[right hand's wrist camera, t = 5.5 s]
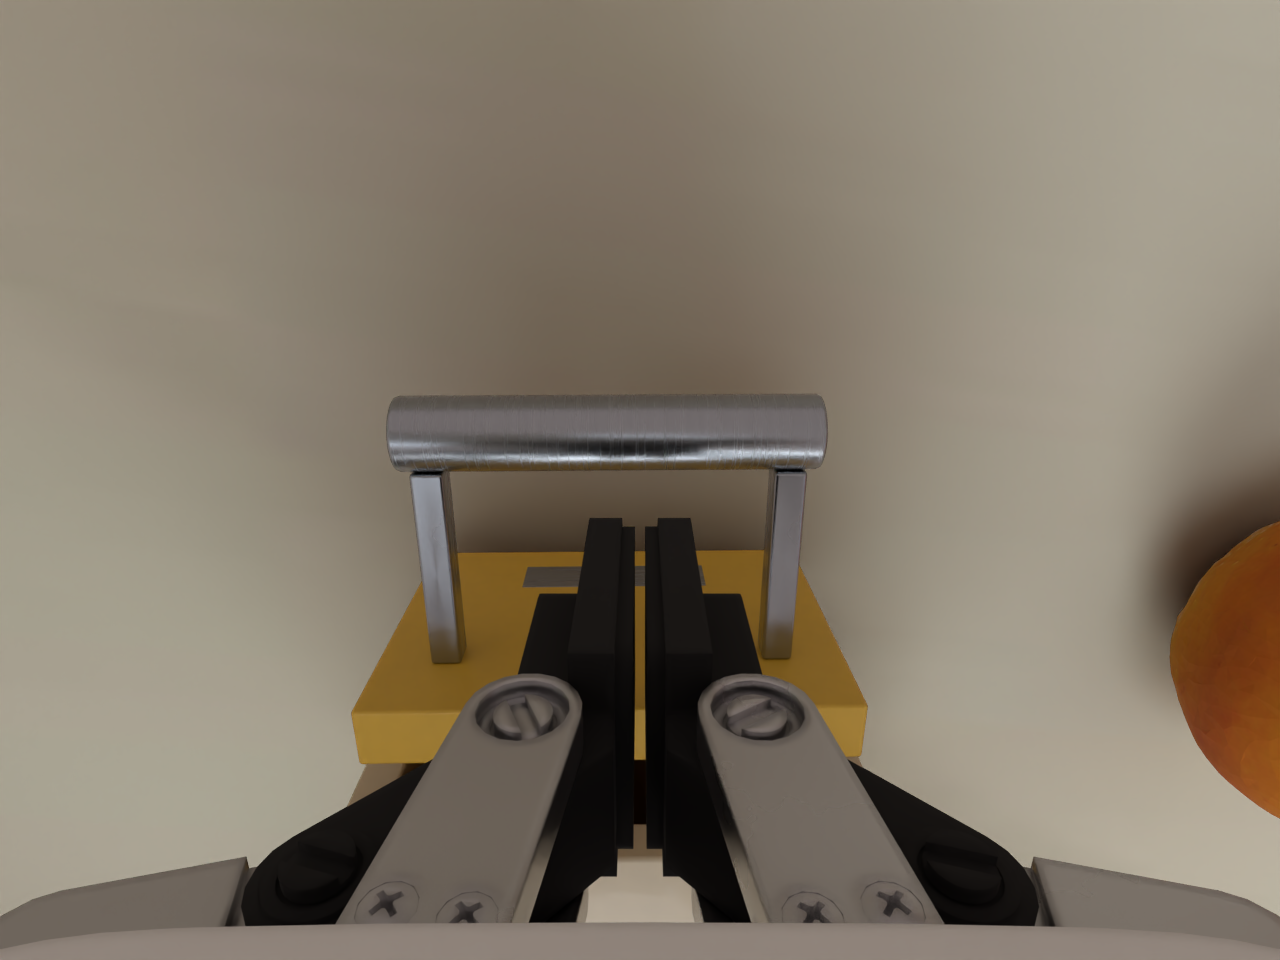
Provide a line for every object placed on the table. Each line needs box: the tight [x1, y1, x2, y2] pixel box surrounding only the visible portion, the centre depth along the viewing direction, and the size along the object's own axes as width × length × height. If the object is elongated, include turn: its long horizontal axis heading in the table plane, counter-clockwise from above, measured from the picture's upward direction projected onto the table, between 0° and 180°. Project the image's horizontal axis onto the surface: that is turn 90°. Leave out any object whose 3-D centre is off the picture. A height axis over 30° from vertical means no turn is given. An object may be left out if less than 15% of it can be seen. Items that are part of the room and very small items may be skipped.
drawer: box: [351, 394, 868, 824], centre depth 17 cm, size 17×9×6 cm, turn 0°
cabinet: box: [347, 757, 862, 923], centre depth 19 cm, size 13×11×8 cm
